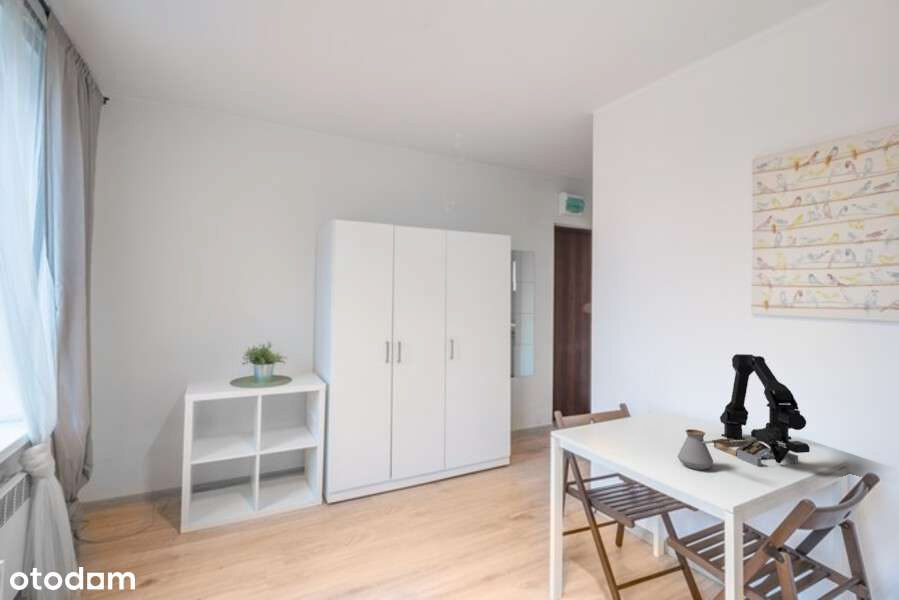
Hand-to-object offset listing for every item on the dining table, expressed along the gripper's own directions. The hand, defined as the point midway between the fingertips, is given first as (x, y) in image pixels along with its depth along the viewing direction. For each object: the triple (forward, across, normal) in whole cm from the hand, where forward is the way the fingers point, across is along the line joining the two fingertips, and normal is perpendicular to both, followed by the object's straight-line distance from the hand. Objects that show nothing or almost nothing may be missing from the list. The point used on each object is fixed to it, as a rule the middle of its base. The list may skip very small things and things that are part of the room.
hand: (778, 462), depth 158 cm
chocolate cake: (+1, -9, -1) cm, 9 cm away
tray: (+1, -16, 0) cm, 16 cm away
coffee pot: (+1, 0, -31) cm, 31 cm away
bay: (+1, -5, 0) cm, 5 cm away
